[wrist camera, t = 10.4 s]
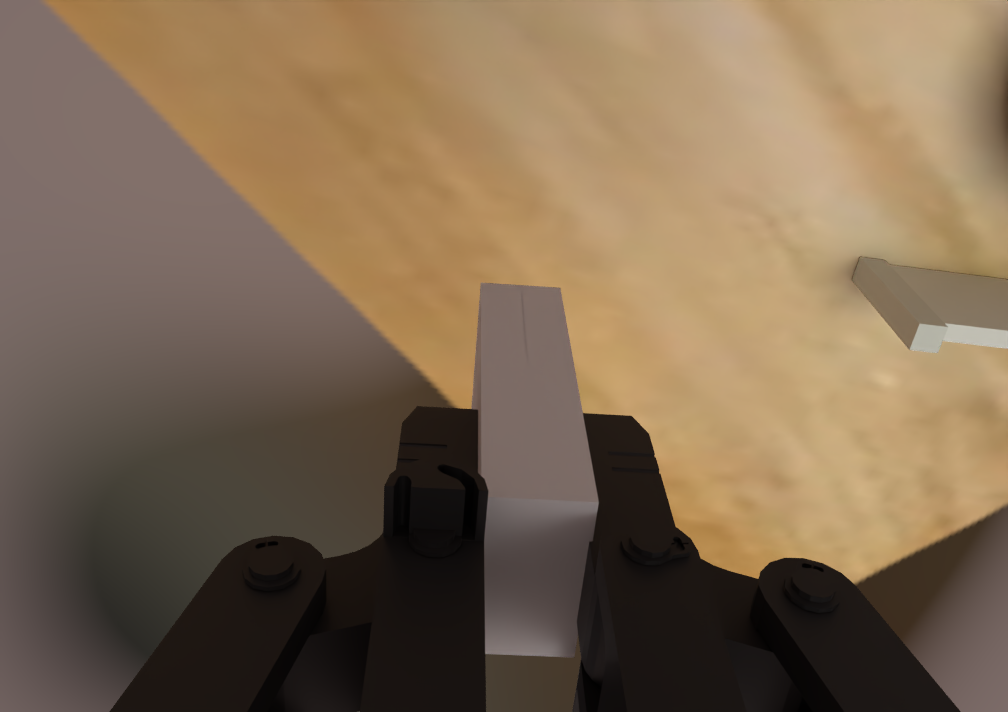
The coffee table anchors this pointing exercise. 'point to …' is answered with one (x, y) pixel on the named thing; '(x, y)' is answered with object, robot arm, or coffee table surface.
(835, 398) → the coffee table surface
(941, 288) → the crate
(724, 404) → the coffee table surface
